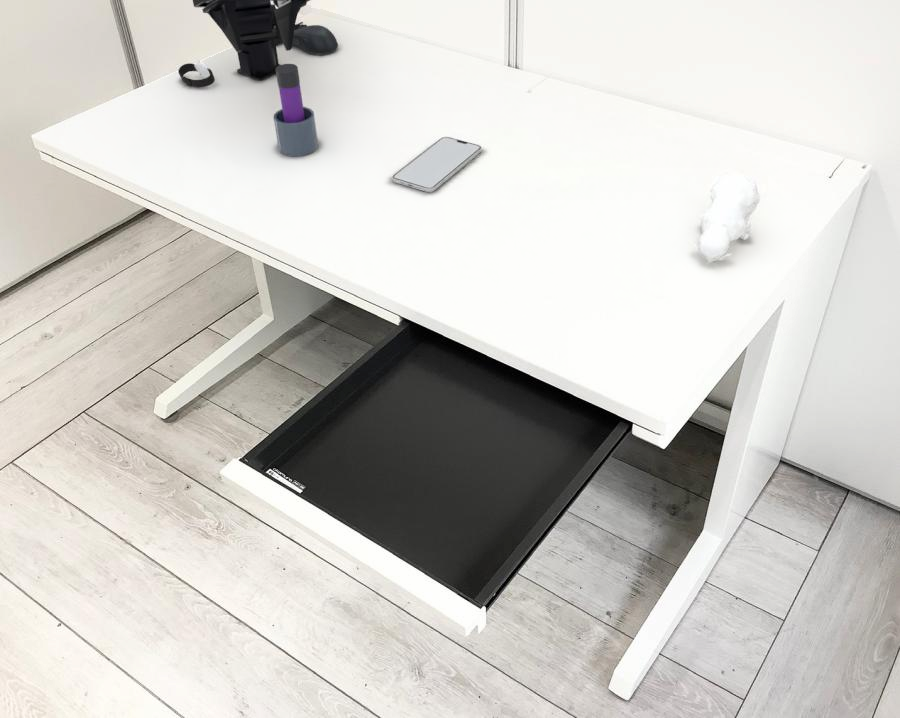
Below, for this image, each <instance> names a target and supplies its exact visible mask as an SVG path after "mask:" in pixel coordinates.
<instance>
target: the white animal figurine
mask: <svg viewBox="0 0 900 718" xmlns="http://www.w3.org/2000/svg"><path fill="white" fill-rule="evenodd" d="M709 192H710V195H709V196H710V200H711V202H710V204H709V206H708V208H707V210H706V211H705V212H704V213H703V214H702V216H701V219H700V227H701V232H702V234H701V235H700V237H699V240H698V245H697V244H696V243H694V242H693V243H694V246H695V248H696V249H697V251H698V254H699V255H701V256H702V257H703V258H704V259H706V261H707V263H709V264H712V263H713V262H715V261H724V260H727V257H729V256H731V255H733V253H734V252H733V253H732V252H731V253H728V250H729V248H730V244H731V243H732V242H733V241H736V240H739V239H741V240H743V241H745V240H748V238H749V232H750V230H751V228H752V224H751V223H748V221H749V220H750V217H751V215H752V214H753V213H754V212H755V211H756V209H757V207H758V204H759V203H760V201H761V195H760V193H759V190H758V186H757V183H756V182H755V180H754V179H753V178H751V177H749V176H747V175H745V174H744V173H741V172H732V173H725V174H723V175H721V176H720V177H719V178H718V179H717V181H716V182H715V184H714V185H713V186H712V187H711V188H710V190H709ZM726 253H727V254H726Z"/></svg>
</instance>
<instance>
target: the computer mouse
mask: <svg viewBox="0 0 900 718" xmlns="http://www.w3.org/2000/svg"><path fill="white" fill-rule="evenodd" d="M275 43H276V46H278V45H280V44H281V43H283V40H282V37H281V36H280V39H279V40H277V39H275ZM292 46H295V47H297V48H300V49H301V50H303V51H305V52H306V53H308V54H311V55H315V56H322V55H323V56H324V55H329V54H333V53H334V52H335V51H337V49H338V47H339V44H338V41H337V38H336V37H335V34H333V32H332V31H331V30H330V29H329V28H327V27H326V26H323V25H319V24H313V25H307V24H304V22H303V21H301V22H299V23H295V29H294V36H293V44H292Z"/></svg>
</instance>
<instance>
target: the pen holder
mask: <svg viewBox="0 0 900 718" xmlns="http://www.w3.org/2000/svg"><path fill="white" fill-rule="evenodd" d="M303 110H304V117H305V120H304V121H301V122H297V123H284V117H283V110H282V108H281V109H278V110H277V111H276V112H275V113H274V114H273V124H274V128H275V135H276V142H277V147H278V151H279V152H280V153H281V154H282V155H283V156H288V157H295V158H296V157H304V156H308V155H310V154H312V153H314V152H316V151H317V149H318V148H319V140H318V132H317V125H316V118H315V112H314V110H313V109H312V108H310V107H307V106H303Z"/></svg>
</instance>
